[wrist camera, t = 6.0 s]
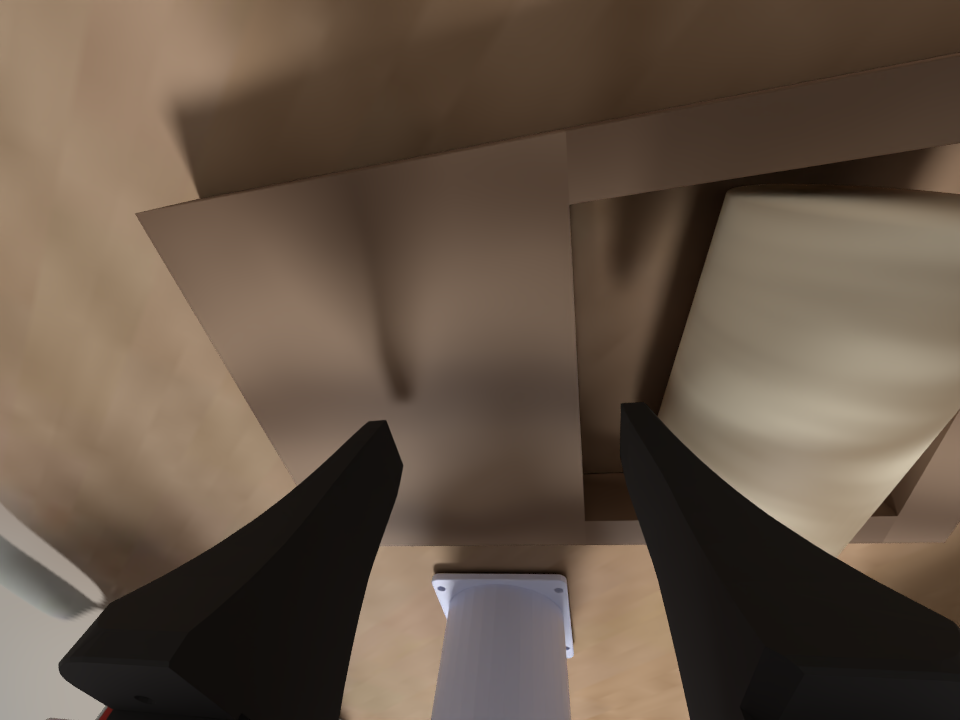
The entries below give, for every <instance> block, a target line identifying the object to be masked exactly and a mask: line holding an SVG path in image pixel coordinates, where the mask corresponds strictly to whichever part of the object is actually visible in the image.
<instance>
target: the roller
mask: <svg viewBox="0 0 960 720" xmlns="http://www.w3.org/2000/svg"><path fill="white" fill-rule="evenodd" d="M959 409H960V194H952V193H942V192H932V191H921V190H910V189H897V188H883V187H868V186H850V185H822V184H762V185H748V186H741V187H735V188H732V189H729V190H728V191H727V192H726V195H725V199H724V202H723V205H722V208H721V212H720V215H719V218H718V221H717V225H716V228H715V231H714V234H713V238H712V241H711V244H710V247H709V251H708V254H707V257H706V261H705V264H704V267H703V270H702V274H701V277H700V280H699V283H698V287H697V290H696V293H695V296H694V300H693V303H692V306H691V309H690V313H689V316H688V319H687V322H686V326H685V329H684V332H683V335H682V339H681V342H680V345H679V348H678V352H677V355H676V358H675V361H674V365H673V368H672V371H671V374H670V378H669V381H668V384H667V387H666V391H665V394H664V397H663V401H662V404H661V407H660V410H659V414H658V418H659V419H660V420H661V421H662V422H663V423H664V424H665V425H666V426H667V427H668V428H669V430H670V431H671V432H672V433H673V434H674V435H675V436H676V437H677V438H678V439H679V440H680V441H681V442H682V443H683V444H684V445H685V446H687V447H688V448H689V449H690V450H691V451H692V452H693V453H694V454H695V455H696V456H697V457H698V458H699V459H700V460H701V461H702V462H704V463H705V464H706V465H707V466H708V467H709V468H710V469H711V470H713V471H714V472H715V473H716V474H717V475H718V476H720V477H721V478H722V479H723V480H724V481H725V482H727V483H728V484H729V485H730V486H732V487H733V488H734V489H735V490H737V491H738V492H739V493H740V494H742V495H743V496H744V497H746V498H747V499H748V500H750V501H751V502H752V503H754V504H755V505H756V506H757V507H759V508H760V509H762V510H763V511H764V512H766V513H767V514H769V515H770V516H771V517H773V518H774V519H776V520H777V521H779V522H780V523H782V524H783V525H785V526H786V527H788V528H789V529H791V530H793V531H794V532H796V533H797V534H799V535H800V536H802V537H803V538H805V539H806V540H808V541H809V542H811V543H813V544H814V545H816V546H817V547H819V548H821V549H822V550H824V551H825V552H827V553H829V554H830V555H832V556H834V557H835V558H837V557H838V556H839V554H840V553H841V552H842V551H843V550H844V548H845V547H846V546H847V545H848V543H849V542H850V541H851V540H852V539H853V537H854V536H855V535H856V534H857V533H858V531H859V530H860V529H861V528H862V527H863V525H864V524H865V523H866V522H867V520H868V519H869V518H870V517H871V516H872V514H873V513H874V512H875V511H876V510H877V508H878V507H879V506H880V505H881V504H882V502H883V501H884V500H885V499H886V497H887V496H888V495H889V494H890V493H891V491H892V490H893V489H894V488H895V487H896V485H897V484H898V483H899V482H900V480H901V479H902V478H903V477H904V476H905V474H906V473H907V472H908V471H909V470H910V468H911V467H912V466H913V465H914V464H915V462H916V461H917V460H918V459H919V457H920V456H921V455H922V454H923V453H924V451H925V450H926V449H927V448H928V447H929V445H930V444H931V443H932V442H933V441H934V439H935V438H936V437H937V436H938V434H939V433H940V432H941V431H942V430H943V428H944V427H945V426H946V425H947V424H948V422H949V421H950V420H951V419H952V418H953V416H954V415H955V414H956V413H957V411H958V410H959Z"/></svg>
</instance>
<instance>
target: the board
mask: <svg viewBox="0 0 960 720" xmlns="http://www.w3.org/2000/svg"><path fill="white" fill-rule="evenodd" d="M956 143H960V52H959V53H954V54H949V55H944V56H938V57H933V58H928V59H923V60H918V61H913V62H907V63H902V64H897V65H892V66H887V67H881V68H876V69H871V70H866V71H861V72H855V73H850V74H845V75H840V76H835V77H829V78H824V79H819V80H814V81H809V82H803V83H798V84H793V85H788V86H783V87H777V88H772V89H767V90H762V91H757V92H752V93H746V94H741V95H736V96H731V97H726V98H720V99H715V100H710V101H705V102H700V103H694V104H689V105H684V106H679V107H674V108H668V109H663V110H658V111H653V112H648V113H642V114H637V115H632V116H627V117H622V118H617V119H611V120H606V121H601V122H596V123H591V124H585V125H580V126H575V127H570V128H565V129H559V130H554V131H549V132H544V133H539V134H533V135H528V136H523V137H518V138H513V139H507V140H502V141H497V142H492V143H487V144H482V145H476V146H471V147H466V148H461V149H456V150H450V151H445V152H440V153H435V154H430V155H424V156H419V157H414V158H409V159H404V160H398V161H393V162H388V163H383V164H378V165H372V166H367V167H362V168H357V169H352V170H346V171H341V172H336V173H331V174H326V175H321V176H315V177H310V178H305V179H300V180H295V181H289V182H284V183H279V184H274V185H269V186H263V187H258V188H253V189H248V190H243V191H237V192H232V193H227V194H222V195H217V196H211V197H206V198H201V199H196V200H192V201H188V202H183V203H179V204H175V205H170V206H166V207H162V208H157V209H153V210H148V211H144V212H140V213H135V214H136V216H137V218H138V220H139V221H140V223H141V225H142V226H143V228H144V230H145V231H146V233H147V235H148V236H149V238H150V240H151V241H152V243H153V245H154V246H155V248H156V250H157V252H158V253H159V255H160V257H161V258H162V260H163V262H164V263H165V265H166V267H167V268H168V270H169V272H170V273H171V275H172V277H173V278H174V280H175V282H176V283H177V285H178V287H179V289H180V290H181V292H182V294H183V295H184V297H185V299H186V300H187V302H188V304H189V305H190V307H191V309H192V310H193V312H194V314H195V315H196V317H197V319H198V320H199V322H200V324H201V326H202V327H203V329H204V331H205V332H206V334H207V336H208V337H209V339H210V341H211V342H212V344H213V346H214V347H215V349H216V351H217V352H218V354H219V356H220V358H221V359H222V361H223V363H224V364H225V366H226V368H227V369H228V371H229V373H230V374H231V376H232V378H233V379H234V381H235V383H236V384H237V386H238V388H239V389H240V391H241V393H242V395H243V396H244V398H245V400H246V401H247V403H248V405H249V406H250V408H251V410H252V411H253V413H254V415H255V416H256V418H257V420H258V421H259V423H260V425H261V427H262V428H263V430H264V432H265V433H266V435H267V437H268V438H269V440H270V442H271V443H272V445H273V447H274V448H275V450H276V452H277V453H278V455H279V457H280V458H281V460H282V462H283V464H284V465H285V467H286V469H287V470H288V472H289V474H290V475H291V477H292V479H293V480H294V482H295V484H296V485H297V486H298V485H299V484H300V483H301V482H302V481H304V480H305V479H306V478H307V477H308V476H309V475H310V474H312V473H313V472H314V471H315V470H316V469H317V468H318V467H320V466H321V465H322V464H323V463H324V462H325V461H326V460H327V459H328V458H329V457H330V456H331V455H332V454H334V453H335V452H336V451H337V450H338V449H339V448H340V447H341V446H342V445H343V444H344V443H345V442H346V441H347V440H348V439H349V438H350V437H352V436H353V435H354V434H355V433H356V432H357V431H358V430H359V429H360V428H361V427H362V426H363V425H365V424H366V423H367V422H368V421H378V420H386V421H387V423H388V426H389V428H390V431H391V434H392V436H393V439H394V442H395V444H396V447H397V450H398V452H399V455H400V457H401V460H402V463H403V465H404V466H403V471H402V476H401V481H400V486H399V490H398V495H397V498H396V501H395V504H394V507H393V509H392V512H391V515H390V518H389V521H388V524H387V526H386V529H385V532H384V535H383V538H382V540H381V543H380V546H489V545H647V544H646V542H645V539H644V536H643V533H642V530H641V527H640V524H639V521H638V518H637V516H636V513H635V510H634V507H633V504H632V501H631V498H630V495H629V492H628V489H627V485H626V481H625V476H624V473H601V474H583V472H582V451H581V431H580V411H579V390H578V370H577V350H576V329H575V309H574V289H573V268H572V248H571V228H570V207H569V205H570V204H576V203H583V202H589V201H595V200H602V199H608V198H614V197H621V196H627V195H633V194H640V193H646V192H652V191H659V190H665V189H671V188H678V187H684V186H690V185H697V184H703V183H709V182H716V181H722V180H728V179H734V178H741V177H747V176H753V175H760V174H766V173H772V172H779V171H785V170H791V169H798V168H804V167H810V166H817V165H823V164H829V163H836V162H842V161H848V160H855V159H861V158H867V157H874V156H880V155H886V154H893V153H899V152H905V151H912V150H918V149H924V148H931V147H937V146H943V145H950V144H956ZM959 522H960V409H959V410H958V411H957V413H956V414H955V415H954V416H953V418H952V419H951V420H950V421H949V422H948V424H947V425H946V426H945V427H944V428H943V430H942V431H941V432H940V433H939V434H938V436H937V437H936V438H935V439H934V441H933V442H932V443H931V444H930V445H929V447H928V448H927V449H926V450H925V451H924V453H923V454H922V455H921V456H920V457H919V459H918V460H917V461H916V462H915V464H914V465H913V466H912V467H911V468H910V470H909V471H908V472H907V473H906V474H905V476H904V477H903V478H902V479H901V480H900V482H899V483H898V484H897V485H896V487H895V488H894V489H893V490H892V491H891V493H890V494H889V495H888V496H887V497H886V499H885V500H884V501H883V502H882V504H881V505H880V506H879V507H878V508H877V510H876V511H875V512H874V513H873V514H872V516H871V517H870V518H869V519H868V520H867V522H866V523H865V524H864V525H863V527H862V528H861V529H860V530H859V531H858V533H857V534H856V535H855V536H854V537H853V539H852V540H851V541H850V542H849V543H945V541H946V540H947V539H948V537H949V536H950V534H951V533H952V532H953V530H954V529H955V528H956V526H957V525H958V523H959Z"/></svg>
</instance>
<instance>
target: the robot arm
mask: <svg viewBox="0 0 960 720" xmlns="http://www.w3.org/2000/svg"><path fill="white" fill-rule="evenodd" d="M620 458H621V462H622V467H623V472H624V476H625V481H626V485H627V489H628V492H629V495H630V498H631V501H632V504H633V507H634V510H635V513H636V516H637V518H638V521H639V524H640V527H641V530H642V533H643V536H644V539H645V542H646V544H647V547H648V550H649V553H650V556H651V559H652V562H653V565H654V568H655V572H656V575H657V578H658V582H659V586H660V590H661V594H662V598H663V602H664V606H665V611H666V615H667V619H668V623H669V627H670V632H671V636H672V640H673V644H674V649H675V653H676V657H677V662H678V666H679V671H680V675H681V680H682V684H683V689H684V693H685V698H686V702H687V707H688V711H689V716H690V720H960V628H959V627H958V626H957V625H956V624H955V623H954V622H953V621H951V620H949V619H947V618H945V617H944V616H942V615H940V614H938V613H936V612H934V611H932V610H930V609H928V608H926V607H925V606H923V605H921V604H919V603H917V602H915V601H913V600H911V599H909V598H907V597H905V596H904V595H902V594H900V593H898V592H896V591H894V590H892V589H890V588H888V587H886V586H885V585H883V584H881V583H879V582H877V581H875V580H873V579H872V578H870V577H868V576H866V575H865V574H863V573H861V572H859V571H858V570H856V569H854V568H853V567H851V566H849V565H847V564H846V563H844V562H842V561H841V560H839V559H837V558H835V557H834V556H832V555H830V554H829V553H827V552H825V551H824V550H822V549H821V548H819V547H817V546H816V545H814V544H813V543H811V542H809V541H808V540H806V539H805V538H803V537H802V536H800V535H799V534H797V533H796V532H794V531H793V530H791V529H789V528H788V527H786V526H785V525H783V524H782V523H780V522H779V521H777V520H776V519H774V518H773V517H771V516H770V515H769V514H767V513H766V512H764V511H763V510H762V509H760V508H759V507H757V506H756V505H755V504H754V503H752V502H751V501H750V500H748V499H747V498H746V497H744V496H743V495H742V494H740V493H739V492H738V491H737V490H735V489H734V488H733V487H732V486H730V485H729V484H728V483H727V482H725V481H724V480H723V479H722V478H721V477H720V476H718V475H717V474H716V473H715V472H714V471H713V470H711V469H710V468H709V467H708V466H707V465H706V464H705V463H704V462H702V461H701V460H700V459H699V458H698V457H697V456H696V455H695V454H694V453H693V452H692V451H691V450H690V449H689V448H688V447H687V446H685V445H684V444H683V443H682V442H681V441H680V440H679V439H678V438H677V437H676V436H675V435H674V434H673V433H672V432H671V431H670V430H669V428H668V427H667V426H666V425H665V424H664V423H663V422H662V421H661V420H660V419H659V418H658V417H657V416H656V415H655V413H654V412H653V411H652V410H651V409H650V408H649V407H648V406H647V405H646V404H645V403H644V402H636V403H622V404H621V427H620ZM403 466H404V465H403V463H402V460H401V457H400V455H399V452H398V450H397V447H396V444H395V442H394V439H393V436H392V434H391V431H390V428H389V426H388V423H387V421H386V420H378V421H368V422H367V423H366V424H365V425H363V426H362V427H361V428H360V429H359V430H358V431H357V432H356V433H355V434H354V435H353V436H352V437H350V438H349V439H348V440H347V441H346V442H345V443H344V444H343V445H342V446H341V447H340V448H339V449H338V450H337V451H336V452H335V453H334V454H332V455H331V456H330V457H329V458H328V459H327V460H326V461H325V462H324V463H323V464H322V465H321V466H320V467H318V468H317V469H316V470H315V471H314V472H313V473H312V474H310V475H309V476H308V477H307V478H306V479H305V480H304V481H302V482H301V483H300V484H299V485H298V486H297V487H295V488H294V489H293V490H292V491H291V492H290V493H288V494H287V495H286V496H285V497H283V498H282V499H281V500H280V501H278V502H277V503H276V504H275V505H273V506H272V507H271V508H269V509H268V510H267V511H265V512H264V513H262V514H261V515H260V516H258V517H257V518H256V519H254V520H253V521H251V522H250V523H249V524H247V525H246V526H244V527H243V528H241V529H240V530H238V531H237V532H235V533H234V534H232V535H231V536H229V537H228V538H226V539H225V540H223V541H222V542H220V543H219V544H217V545H215V546H214V547H212V548H211V549H209V550H207V551H206V552H204V553H202V554H201V555H199V556H197V557H196V558H194V559H192V560H190V561H189V562H187V563H185V564H184V565H182V566H180V567H178V568H177V569H175V570H173V571H171V572H169V573H168V574H166V575H164V576H162V577H160V578H158V579H156V580H154V581H153V582H151V583H149V584H147V585H145V586H143V587H141V588H139V589H137V590H135V591H133V592H131V593H129V594H127V595H125V596H124V597H122V598H120V599H118V600H115V601H113V602H111V603H110V604H109V605H108V606H107V607H106V608H105V610H104V611H103V612H102V613H101V614H100V615H99V617H98V618H97V619H96V620H95V621H94V622H93V624H92V625H91V626H90V627H89V628H88V630H87V631H86V632H85V633H84V634H83V635H82V637H81V638H80V639H79V640H78V641H77V643H76V644H75V645H74V646H73V647H72V648H71V649H70V650H69V652H68V653H67V654H66V655H65V656H64V657H63V659H62V660H61V661H60V662H59V671H60V674H61V675H62V677H64V679H65V680H66V681H68V682H69V683H71V684H72V685H73V686H75V687H76V688H78V689H80V690H81V691H83V692H85V693H86V694H88V695H90V696H91V697H93V698H94V699H96V700H98V701H99V702H101V703H103V704H104V705H106V706H108V707H109V708H111V709H113V710H112V712H111V713H110V715H109V716H108V717H107V719H106V720H339V716H340V710H341V704H342V698H343V692H344V686H345V681H346V676H347V671H348V666H349V661H350V656H351V651H352V646H353V642H354V637H355V633H356V628H357V624H358V619H359V615H360V611H361V607H362V603H363V599H364V595H365V591H366V587H367V583H368V579H369V575H370V572H371V569H372V566H373V563H374V560H375V557H376V554H377V552H378V549H379V546H380V543H381V540H382V538H383V535H384V532H385V529H386V526H387V524H388V521H389V518H390V515H391V512H392V509H393V507H394V504H395V501H396V498H397V495H398V490H399V486H400V481H401V476H402V471H403ZM432 585H433V587H434V590H435V592H436V594H437V597H438V599H439V602H440V604H441V606H442V609H443V611H444V614H445V616H446V619H447V623H446V629H445V636H444V642H443V648H442V654H441V660H440V667H439V673H438V679H437V685H436V691H435V698H434V704H433V710H432V716H431V720H571V712H570V698H569V685H568V671H567V658H571V657H573V656H574V650H573V640H572V630H571V619H570V609H569V599H568V589H567V579H566V578H565V577H564V576H563V575H560V574H460V573H438V574H435V575H434V576H433V578H432ZM47 720H67V719H57V718H49V719H47Z"/></svg>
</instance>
